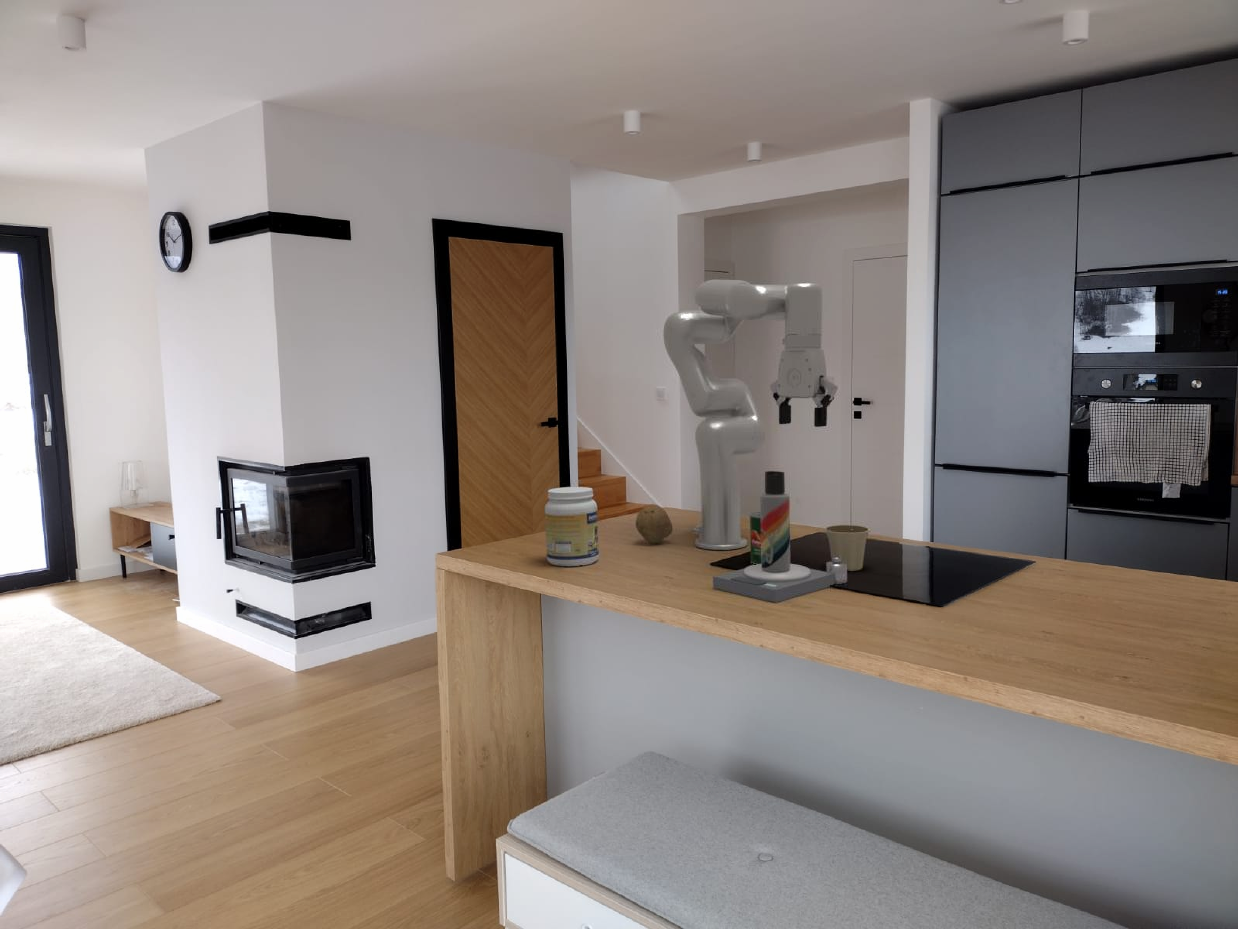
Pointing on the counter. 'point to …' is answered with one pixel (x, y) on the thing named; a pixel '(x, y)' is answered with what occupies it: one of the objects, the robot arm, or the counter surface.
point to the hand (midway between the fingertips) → (802, 425)
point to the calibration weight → (837, 569)
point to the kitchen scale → (773, 582)
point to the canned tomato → (755, 537)
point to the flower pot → (848, 544)
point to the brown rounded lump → (653, 523)
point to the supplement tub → (571, 526)
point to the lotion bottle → (775, 524)
